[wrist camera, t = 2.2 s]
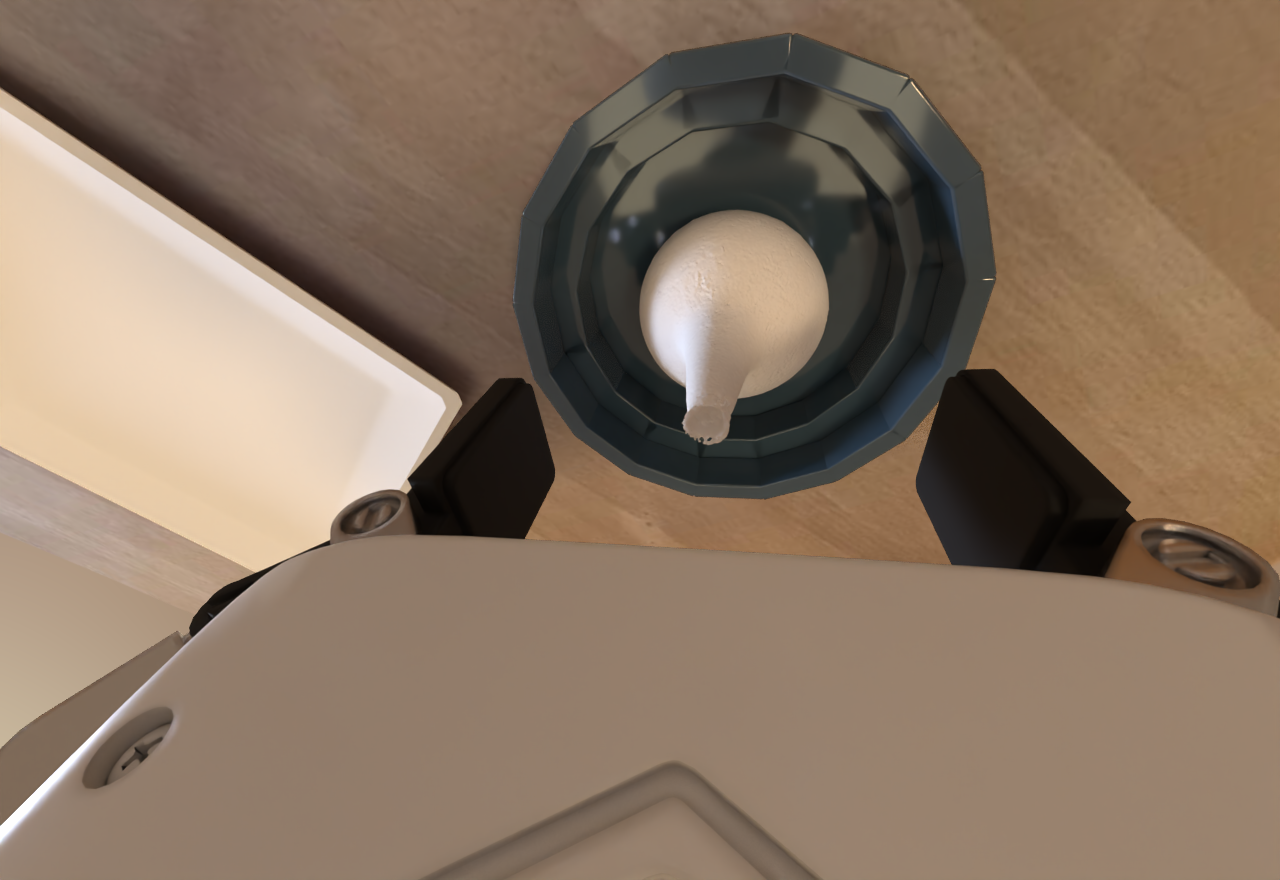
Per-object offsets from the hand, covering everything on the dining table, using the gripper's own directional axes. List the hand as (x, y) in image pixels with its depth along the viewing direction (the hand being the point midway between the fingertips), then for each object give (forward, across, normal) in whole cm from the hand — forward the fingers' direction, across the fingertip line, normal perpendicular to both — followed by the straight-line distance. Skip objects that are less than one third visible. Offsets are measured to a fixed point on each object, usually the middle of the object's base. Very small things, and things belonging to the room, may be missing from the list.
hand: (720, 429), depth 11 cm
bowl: (+8, 0, -1) cm, 8 cm away
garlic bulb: (+8, 0, -1) cm, 8 cm away
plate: (+9, +30, +3) cm, 31 cm away
